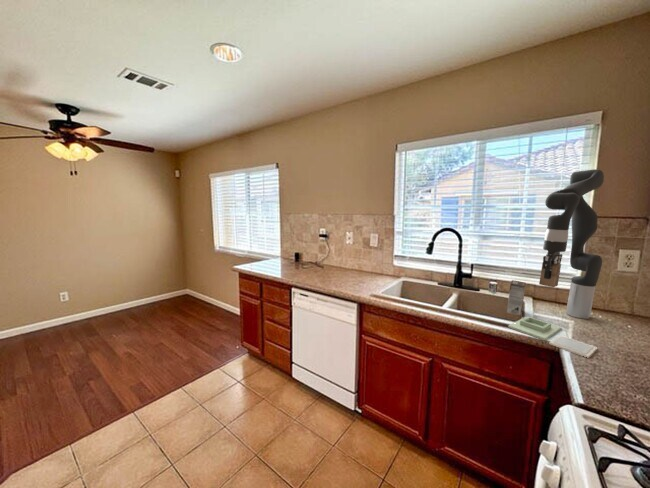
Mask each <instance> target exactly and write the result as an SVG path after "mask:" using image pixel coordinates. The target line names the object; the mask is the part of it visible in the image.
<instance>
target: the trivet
mask: <svg viewBox="0 0 650 488" xmlns="http://www.w3.org/2000/svg"><path fill="white" fill-rule="evenodd" d="M548 344H549V345H550V346H554V347H557V348H559V349H562V350H565V351H567V352H570V353H572V354H575V355H578V356H581V357H583V356H584V357H585V358H586V357H587V359H589V358H591V356H593V354H594V353H595V352H597V350H598V347H597V346H595V345H591V344H589V343H586V342H584V341H583V342H582V341H580V340H576V339H573V338H570V337H568V336H565V335H563V334H562V335H561V334H559V335H557V336H555V338H553V339H551V340H550V341H549V343H548Z"/></svg>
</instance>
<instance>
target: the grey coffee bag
mask: <svg viewBox="0 0 650 488" xmlns="http://www.w3.org/2000/svg"><path fill="white" fill-rule="evenodd" d="M509 285H510V286H509V294H508V300H507V307H506V308H507V309H506V313H508V314H512V315H516V316H522V312H523V305H524V298H525V293H526V282H523V281H521V280H520V281H519V280H513V279H511V282H510V284H509Z"/></svg>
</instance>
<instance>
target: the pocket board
mask: <svg viewBox="0 0 650 488" xmlns="http://www.w3.org/2000/svg"><path fill="white" fill-rule="evenodd" d="M514 323H516V324H514ZM507 328H508V329H512V330H515V331H517V332H520V333H522V334H525V335H529V336H530V337H534V338H537V339H539V340H543V341H546V340H548V339H549V338H551V337H552V336H554V335H555V334H556V333H558V332H559V331H561V330H562V329H563V328H562V326H559V325H557V324H554V323H550V322H546V321H544V320H540V319H537V318H534V317H531V316H528V315H526V316H523V317H522V318H519V320H515V321H514V322H512V323H510V324H508V326H507Z"/></svg>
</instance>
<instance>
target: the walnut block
mask: <svg viewBox="0 0 650 488" xmlns="http://www.w3.org/2000/svg"><path fill="white" fill-rule="evenodd" d="M548 266H549V265H547V267H548ZM561 268H562V263H559V264H558V263H556V264H555V265H554V266H553V269H552V273H551V279H545V278H544V273H545V270H544V269H543V262H542V264H541V271H540V277H539V285H541V286H545V287H549V288H555V287H557V286H559V279H560V274H561Z"/></svg>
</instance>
